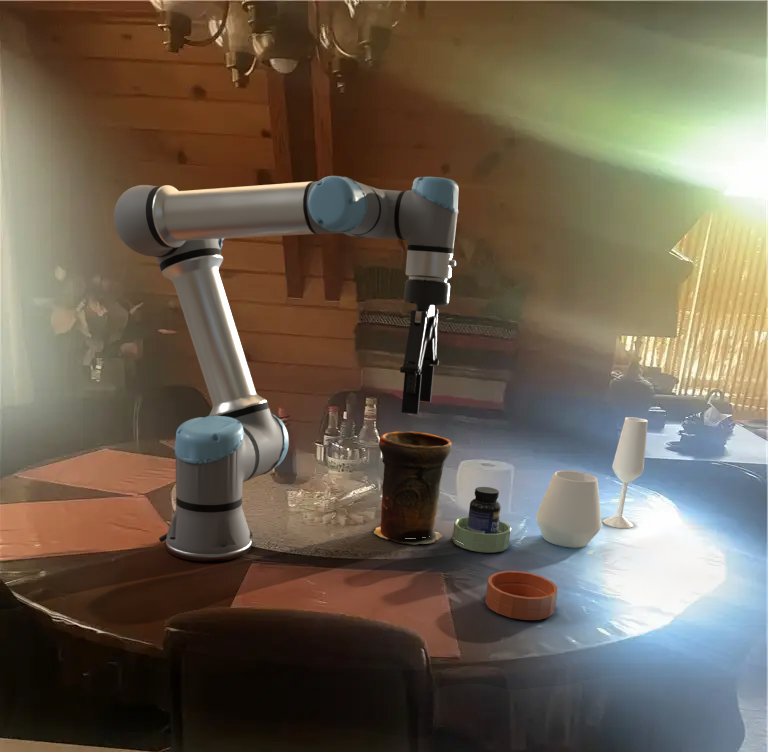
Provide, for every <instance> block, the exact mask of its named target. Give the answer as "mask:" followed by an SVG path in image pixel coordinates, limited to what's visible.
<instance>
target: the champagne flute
mask: <svg viewBox="0 0 768 752" xmlns="http://www.w3.org/2000/svg"><path fill="white" fill-rule="evenodd" d="M623 421H624V422H623V425H622V429H621V433H620V436H619V440H618V442H617V443H618V444H617V448H616V451H615V454H614V458H613V462H612V465H611V466H612V467H611V468H612V471H613V473H614V475H615V476H616V477H617V479H618V480H619V481H621V483H622V484H621V487H620V495H619V500H618V506H617V510H616V511H617V512H616V514H615V515H612V516H610V517H607V518H604V519H603V520H602V522H603V523H604V524H605V525H606V526H609V527H612V528H618V529H631V528H633V527H634V524H633V523H632V522H631V521H629V519H627V518H626V517H624V515H623V512H624V507H625V502H626V496H627V490H628V484H629V483H632V482H634V481H635V480H636V479H638V478H639V477H640V476H641V475H642V474H643V473H644V470H645V469H644V467H645V459H646V458H645V457H646V446H647V445H646V444H647V435H648V434H647V433H648V424H649V423H648V422H649V421H648V420H647V419H645V418H641V417H632V416H627V417H625V418H624V420H623Z"/></svg>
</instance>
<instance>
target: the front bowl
mask: <svg viewBox="0 0 768 752" xmlns="http://www.w3.org/2000/svg"><path fill="white" fill-rule="evenodd" d="M557 597H558V586H557V585H556V584H555V583H554V582H553V581H552V580H550V579H548V578H546V577H544V576H542V575H539V574H535V573H532V572H526V571H519V570H504V571H499V572H498V571H497V572H494V573H492V574H491V575H489V576H488V579H487V584H486V593H485V600H484V603H485V604H486V606H487V607H488V608H489V609H490V610H492V611H493V612H495V613H496V614H498V615H501V616H504V617H508V618H510V619H516V620H520V621H521V620H522V621H540V620H544V619H548V618H550V617H551V616H552V615H553V614H555V610H556V604H557Z"/></svg>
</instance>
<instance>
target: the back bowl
mask: <svg viewBox="0 0 768 752" xmlns="http://www.w3.org/2000/svg"><path fill="white" fill-rule="evenodd" d="M468 517H469V515H468V516H460V517H458V518H457V519H455V520H454V523H453V529H452V531H453V532H452V542H453V543H454V544H455V545H456V546H458V547H460V548H462V549H465V550H468V551H471V552H472V551H473V552H477V553H499V552H504V551H505V550H508V548H509V545H510V539H511V538H510V537H511V532H512V531H511V530H512V526H510V524H508V523H507V522H505V521H503V520H500V519H499V525H498V533H497V534H485V533H477V532H473V531H469V530H467V526H468ZM453 537H454V538H455V539H454V538H453ZM455 540H457V541H459V542H461V543H463V544H464V545H463V544H461V543H459V542H457V541H455Z"/></svg>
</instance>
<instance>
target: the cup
mask: <svg viewBox="0 0 768 752" xmlns="http://www.w3.org/2000/svg"><path fill="white" fill-rule="evenodd" d="M599 492H600V490H599V480H598V477H597V476H595V475H593V474H590V473H588V472H587V473H586V472H583V471H578V470H569V469H567V470H565V469H564V470H557V471H555V472H553V473H552V477H551V478H550V481H549V484H548V485H547V488H546V491H545V493H544V495H543V497H542V499H541V502H540V505H539V507H538V510H537V512H536V515H535V519H536V524H537V526H538V528H539V530H540V533H541V535H542V537H543V540H545V541H546V542H547V543H550V544H553V545H554V546H555V545H556V546H559V547H564V548H584V547H586V546H587V545H589V543H590V542H591V541H592V540H593V539H594V538H595V537H596V535H598V533H599V532H600V531H601V529H602V527H603V526H602V522H603V521H602V512H601V501H600V493H599Z"/></svg>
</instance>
